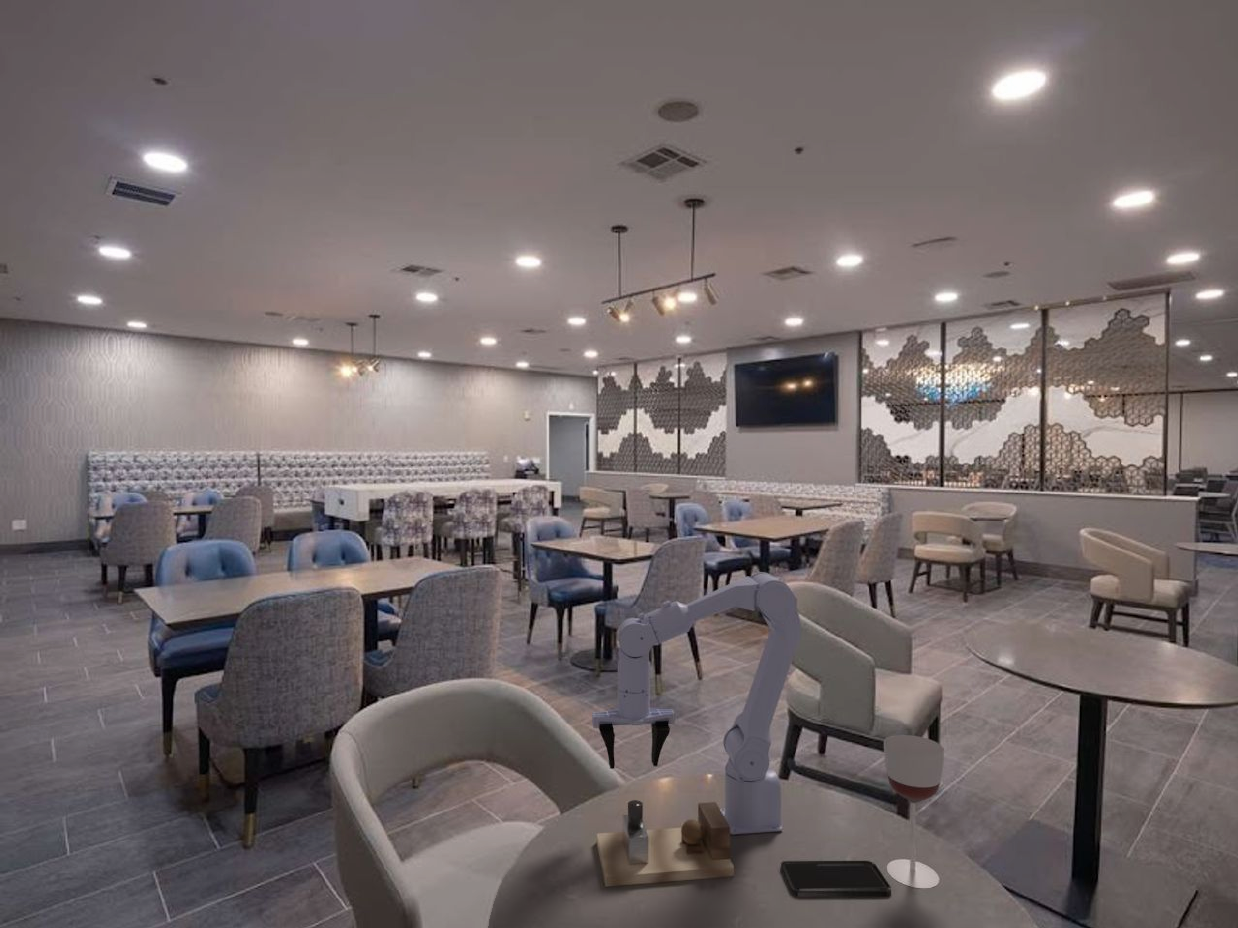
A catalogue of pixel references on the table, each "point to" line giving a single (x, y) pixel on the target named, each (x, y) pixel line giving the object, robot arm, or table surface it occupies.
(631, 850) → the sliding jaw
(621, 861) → the base
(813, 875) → the phone
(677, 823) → the table surface
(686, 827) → the walnut
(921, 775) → the wineglass
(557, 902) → the table surface
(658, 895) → the table surface
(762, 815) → the robot arm
